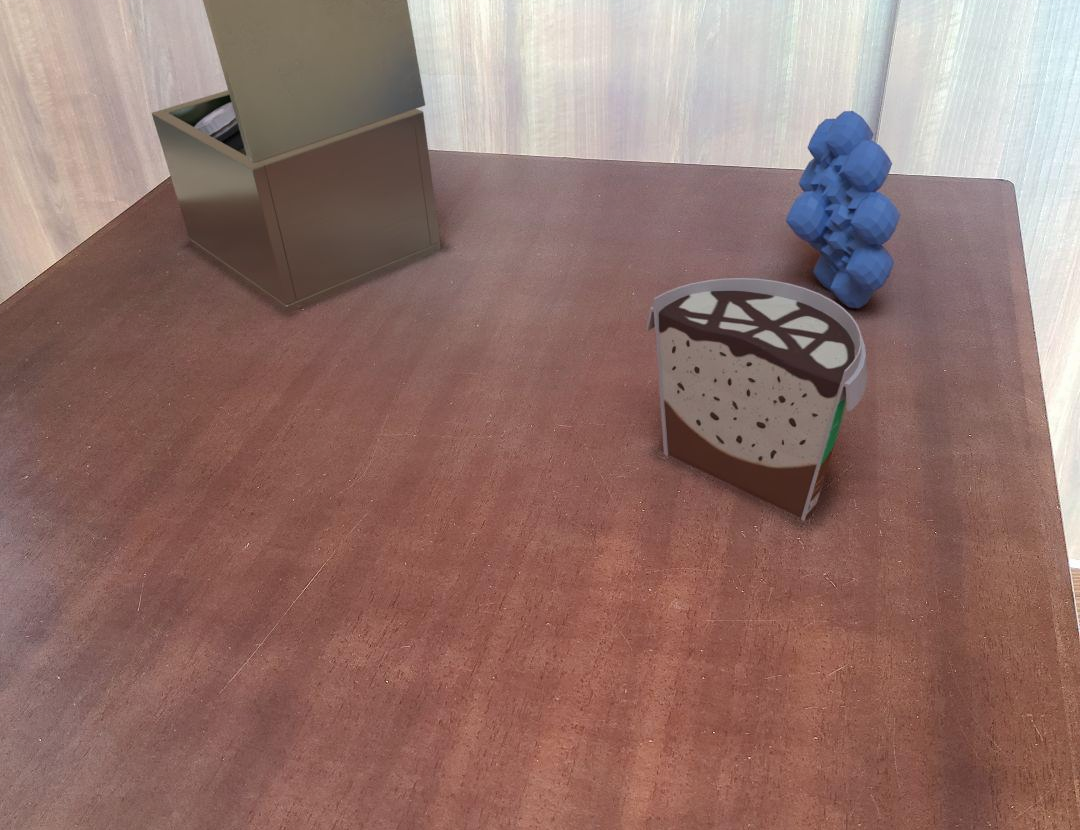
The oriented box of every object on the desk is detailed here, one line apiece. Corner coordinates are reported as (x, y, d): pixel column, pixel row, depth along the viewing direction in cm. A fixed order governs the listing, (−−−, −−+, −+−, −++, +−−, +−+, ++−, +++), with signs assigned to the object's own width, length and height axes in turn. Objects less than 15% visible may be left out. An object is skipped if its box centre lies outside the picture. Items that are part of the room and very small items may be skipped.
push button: (271, 227, 86) (194, 116, 80) (325, 197, 85) (251, 83, 79) (260, 259, 81) (176, 144, 75) (317, 228, 80) (237, 108, 74)
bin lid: (162, -139, 58) (202, -140, 54) (370, -176, 64) (417, -179, 60) (247, 161, 68) (285, 176, 64) (419, 104, 74) (462, 114, 71)
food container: (887, 480, 57) (921, 320, 51) (828, 537, 54) (856, 375, 48) (706, 401, 64) (715, 251, 57) (643, 448, 61) (645, 295, 54)
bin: (192, 248, 84) (150, 112, 77) (336, 195, 91) (310, 65, 83) (288, 316, 75) (252, 169, 68) (442, 252, 81) (423, 111, 74)
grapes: (747, 263, 77) (761, 97, 69) (833, 250, 78) (856, 84, 70) (809, 341, 68) (832, 162, 60) (905, 325, 69) (940, 147, 61)
